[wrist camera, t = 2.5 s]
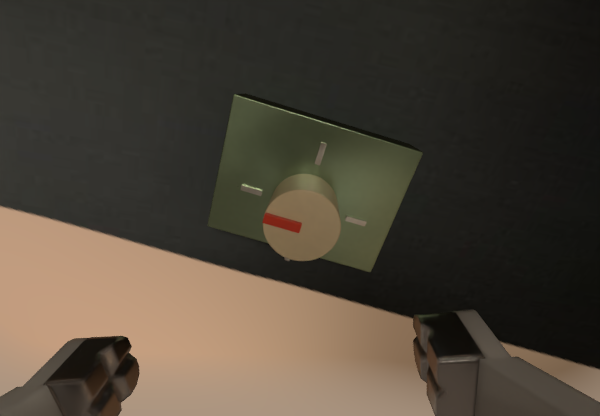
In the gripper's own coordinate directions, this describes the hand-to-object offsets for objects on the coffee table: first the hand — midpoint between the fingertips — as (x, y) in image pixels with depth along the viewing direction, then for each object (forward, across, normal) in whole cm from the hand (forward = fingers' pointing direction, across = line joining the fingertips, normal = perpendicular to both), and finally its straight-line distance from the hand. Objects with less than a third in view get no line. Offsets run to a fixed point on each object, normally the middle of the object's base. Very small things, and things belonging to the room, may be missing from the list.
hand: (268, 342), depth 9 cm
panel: (+16, -1, 0) cm, 16 cm away
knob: (+13, -1, 0) cm, 13 cm away
